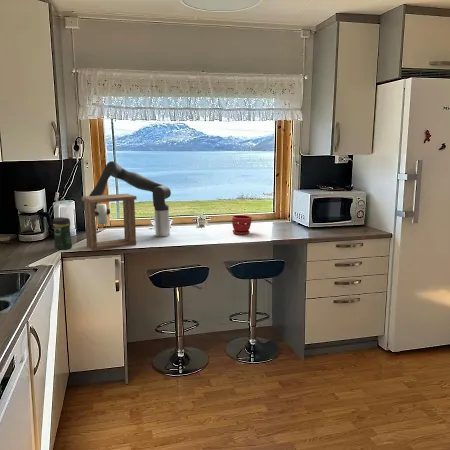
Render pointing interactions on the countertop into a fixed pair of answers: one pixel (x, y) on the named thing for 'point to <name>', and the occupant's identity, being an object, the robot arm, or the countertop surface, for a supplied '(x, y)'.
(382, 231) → the countertop surface
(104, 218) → the white cylinder
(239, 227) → the plant pot
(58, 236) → the coffee jar
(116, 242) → the on counter shelf
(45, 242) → the countertop surface
